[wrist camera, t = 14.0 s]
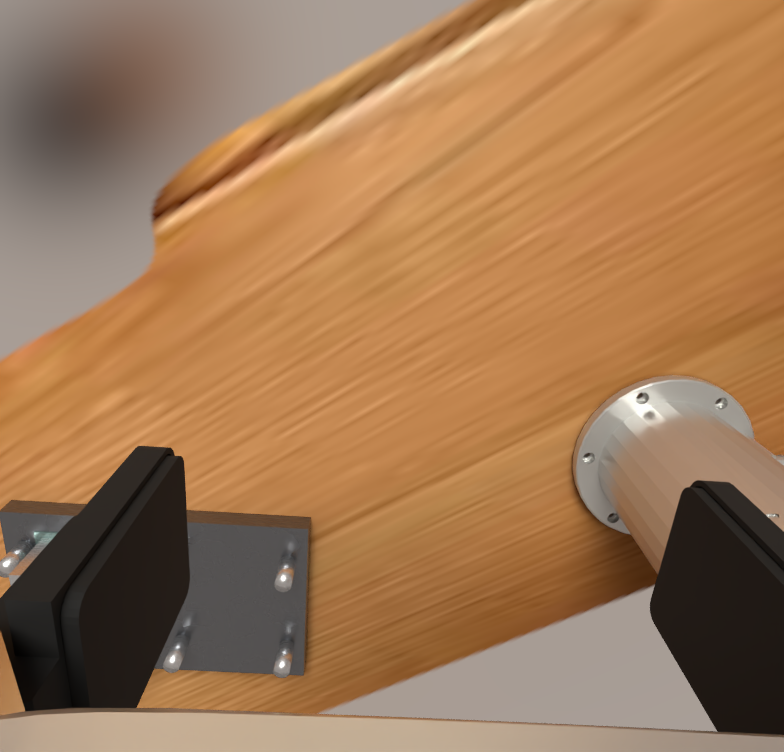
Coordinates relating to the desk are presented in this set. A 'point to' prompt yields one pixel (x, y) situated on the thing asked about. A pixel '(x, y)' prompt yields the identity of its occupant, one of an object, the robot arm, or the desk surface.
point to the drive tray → (213, 586)
